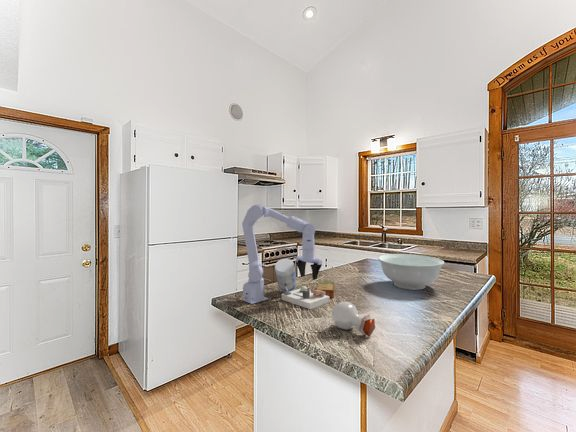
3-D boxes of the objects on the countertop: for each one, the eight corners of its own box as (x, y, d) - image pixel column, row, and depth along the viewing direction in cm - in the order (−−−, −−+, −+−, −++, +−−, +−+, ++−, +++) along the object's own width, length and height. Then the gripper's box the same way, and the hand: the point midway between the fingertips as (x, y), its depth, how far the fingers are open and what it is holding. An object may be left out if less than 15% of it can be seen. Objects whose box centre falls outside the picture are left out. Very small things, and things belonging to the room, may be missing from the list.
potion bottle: (334, 326, 106) (370, 345, 95) (322, 317, 100) (358, 336, 89) (345, 303, 109) (381, 319, 98) (333, 293, 103) (370, 309, 92)
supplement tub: (298, 291, 142) (296, 270, 134) (279, 295, 142) (276, 274, 133) (294, 277, 150) (292, 256, 142) (277, 280, 150) (273, 260, 141)
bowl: (457, 295, 137) (458, 264, 136) (389, 295, 137) (389, 265, 137) (426, 277, 169) (426, 253, 168) (371, 278, 169) (371, 253, 169)
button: (303, 292, 135) (303, 287, 134) (299, 290, 137) (299, 286, 137) (307, 290, 136) (307, 286, 136) (303, 289, 138) (303, 285, 138)
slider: (305, 298, 125) (305, 291, 125) (302, 297, 127) (302, 290, 127) (309, 297, 127) (309, 290, 127) (306, 296, 128) (306, 289, 128)
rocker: (316, 294, 126) (317, 290, 126) (310, 292, 129) (311, 289, 129) (325, 294, 130) (325, 291, 130) (319, 293, 133) (319, 289, 133)
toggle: (287, 291, 132) (285, 283, 133) (285, 291, 133) (283, 283, 134) (289, 290, 133) (287, 282, 134) (287, 290, 134) (285, 283, 135)
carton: (316, 298, 135) (316, 289, 135) (318, 288, 151) (318, 280, 151) (334, 298, 134) (333, 289, 134) (334, 289, 150) (334, 280, 150)
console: (310, 309, 120) (309, 298, 120) (281, 299, 133) (281, 290, 133) (329, 301, 129) (329, 292, 129) (301, 293, 142) (300, 284, 142)
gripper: (326, 249, 131) (326, 278, 131) (302, 246, 141) (303, 273, 142) (316, 251, 126) (316, 281, 126) (292, 248, 136) (293, 276, 137)
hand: (308, 277), depth 134 cm, fingers open, 7 cm apart
